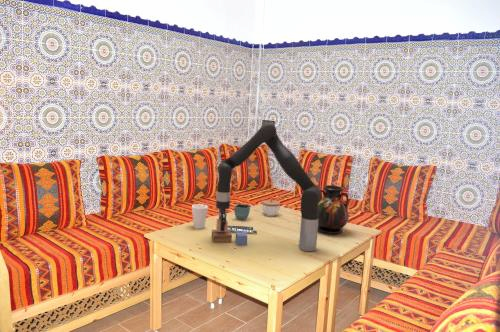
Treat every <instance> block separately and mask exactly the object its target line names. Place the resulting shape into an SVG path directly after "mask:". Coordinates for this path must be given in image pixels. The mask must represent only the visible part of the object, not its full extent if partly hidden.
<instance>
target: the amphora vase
mask: <svg viewBox="0 0 500 332" xmlns="http://www.w3.org/2000/svg"><path fill="white" fill-rule="evenodd" d="M319 190H320V191H321V193H322V194H323V196H322V199H321V201H320V202H319V203H318V213H319V221H318V232H319V233H321V234H324V235H329V236H330V235H331V236H336V235H337V236H338V235H341V234H343V232H344V227H346V225H347V224H348V222H349V218H350V214H349V208H348V207H349V195H348V193H346V192H344V190H345V187H342V186H338V185H330V184H329V185H328V184H327V185H324V186H322V189H319ZM342 196H345V197H346V201H345V202H344V200H343V199H342Z"/></svg>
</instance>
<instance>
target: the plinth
mask: <svg viewBox="0 0 500 332" xmlns="http://www.w3.org/2000/svg"><path fill="white" fill-rule="evenodd" d="M232 235H233V234H232V233H231V230H230V229H228V228H227V232H217V229H211V239H212V244H213V243H214V244H215V243H218V244H219V243H232V239H233V238H232V237H233V236H232Z"/></svg>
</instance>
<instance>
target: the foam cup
mask: <svg viewBox="0 0 500 332" xmlns="http://www.w3.org/2000/svg"><path fill="white" fill-rule="evenodd" d="M208 208H209V207H208V205H206V204H201V203H200V204H198V203H197V204H196V203H195V204H192V206H191V211H192V221H193V222H192V223H193V228H194V229H198V230H199V229H200V230H201V229H204V228H205V227H206V225H205V224H206V219H207V215H208V210H209V209H208Z"/></svg>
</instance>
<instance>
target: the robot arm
mask: <svg viewBox="0 0 500 332" xmlns="http://www.w3.org/2000/svg"><path fill="white" fill-rule="evenodd" d="M264 143H265V144H266V146H267V147H268V148H269V149H270V150H271V152H272V153H273V155H274V158H275V159H276V161H277V163H278V164H279V166H280V167H281V169H282V170H283V171H284V173H285V174H286V175H287V176H288V177H289V178H290V179H291V180H292V181H294V182H295V183H296V184H297V185H298V186H299V188H300V189H301V190H302V193H301V196H300V197H301V198H300V214H301V218H300V227H299V228H300V231H299V243H298V248H299V249H300V250H302V251H304V252H316V251H317V245H318V243H317V241H318V232H319V231H318V221H319V213H318V203H319V202H320V201H321V199H322V198H323V195H322V194H323V192H321V191H320V190H321V189H319V187H318V186H317V185H316V183H314V181H312V180H313V179H311V178H310V177H309V175H308V174H307V172H306V170H305V169H304V168H303V167H302V165H301V163H300V162H299V160H298V158H297V157H296V155H294V154H293V152H291V150H290V149H288V148H287V147H286V146H285V145H284V143H283V142H282V140H281V138H280V137H279V135H278V133H277V128H276V126H275V124H273V123H270V122H266V123H264V124H262V125H261V126H260V128H259V129H258V130H257V131H256V132H255V133H254V135H253V136H252V137H251V138H250V139H249V140H247V141H246V142H245V144H243V145H242V146H241V147H239V148H238V149H237V150H236V151H235V152H234V153H233V154H232V155H231V156H230V157H227V158H226V159H224V160H223V161H222V162H220V163H219V165H218V166H217V173H218V182H217V185H216V187H217V188H216V190H217V191H216V202H215V208H216V209H218V219H220V220H221V223H220V224H221V229H220V230H221V231H224V230H225V224H226V219H227V214H228V213H227V210H229V208H230V207H231V204H230V203H231V181H232V176H233V171H232V170H234V169H235V168H237V167H240V166H241V165H242V164H243V163H244V162H246V161H247V160H248V158H250V157H251V156H252V155H253V153H254V152H255V151H256V150H257V149H258V148H259V147H260V146H261V145H262V144H264ZM222 221H224V222H222Z"/></svg>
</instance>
